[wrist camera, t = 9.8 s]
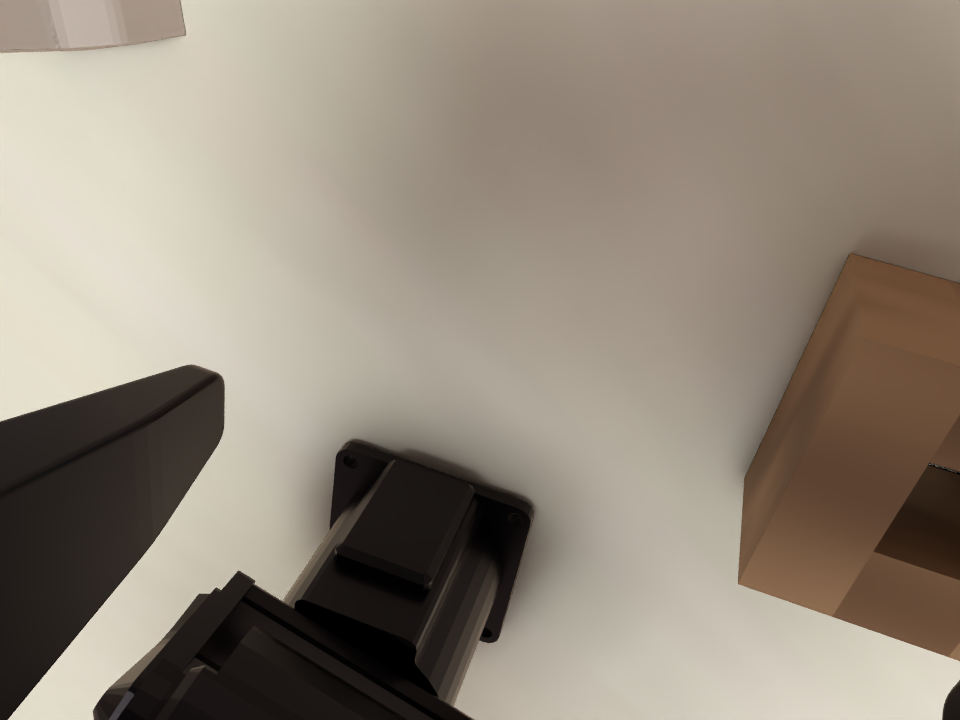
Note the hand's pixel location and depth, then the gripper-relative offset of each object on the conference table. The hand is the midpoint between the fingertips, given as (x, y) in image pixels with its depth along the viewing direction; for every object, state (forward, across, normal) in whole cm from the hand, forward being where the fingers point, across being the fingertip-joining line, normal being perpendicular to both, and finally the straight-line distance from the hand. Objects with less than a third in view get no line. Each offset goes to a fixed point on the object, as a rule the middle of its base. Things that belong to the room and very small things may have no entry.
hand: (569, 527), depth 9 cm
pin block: (+12, -8, +4) cm, 15 cm away
